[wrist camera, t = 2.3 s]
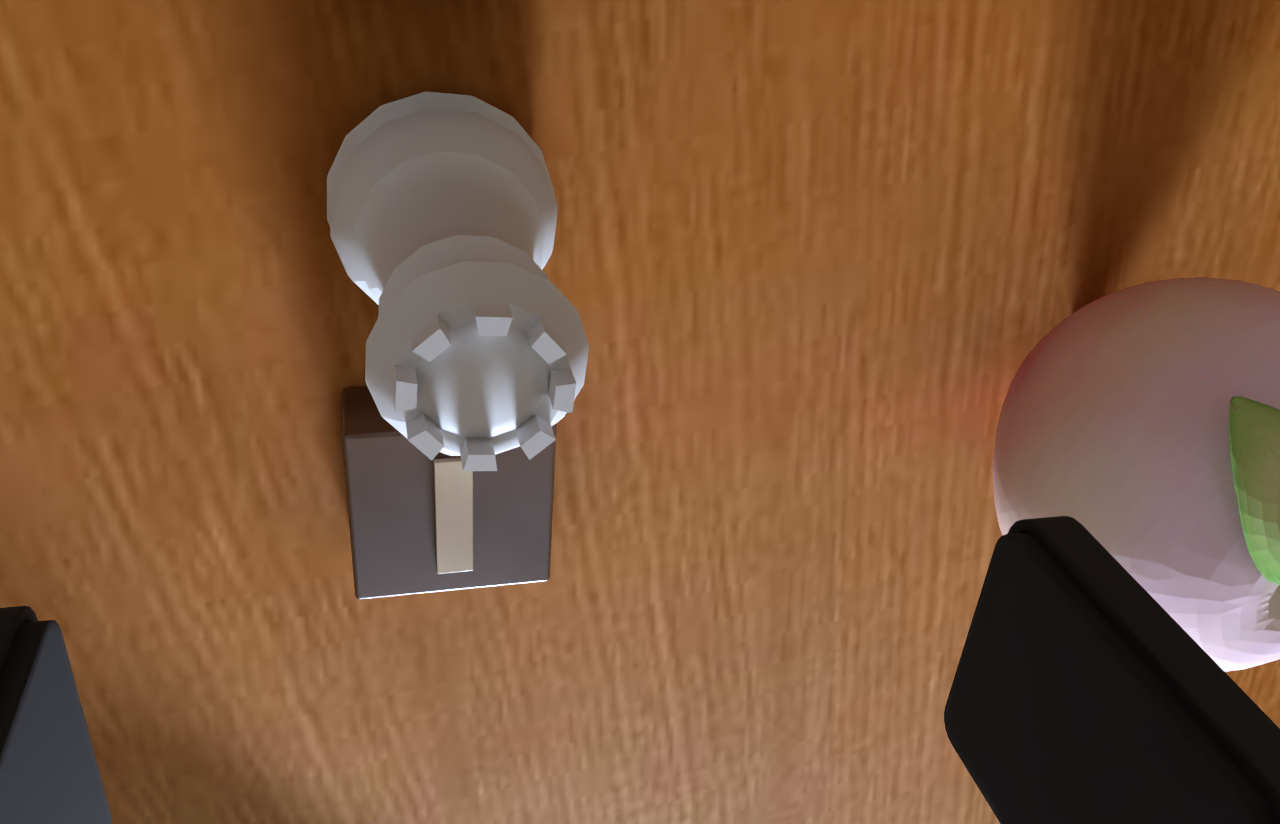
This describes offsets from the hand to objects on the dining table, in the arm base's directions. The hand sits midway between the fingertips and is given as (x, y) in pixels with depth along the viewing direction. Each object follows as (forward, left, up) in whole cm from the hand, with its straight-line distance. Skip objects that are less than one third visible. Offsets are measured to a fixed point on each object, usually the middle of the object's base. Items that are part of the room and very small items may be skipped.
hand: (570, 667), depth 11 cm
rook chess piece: (0, 0, -13) cm, 13 cm away
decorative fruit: (+5, +16, -13) cm, 21 cm away
